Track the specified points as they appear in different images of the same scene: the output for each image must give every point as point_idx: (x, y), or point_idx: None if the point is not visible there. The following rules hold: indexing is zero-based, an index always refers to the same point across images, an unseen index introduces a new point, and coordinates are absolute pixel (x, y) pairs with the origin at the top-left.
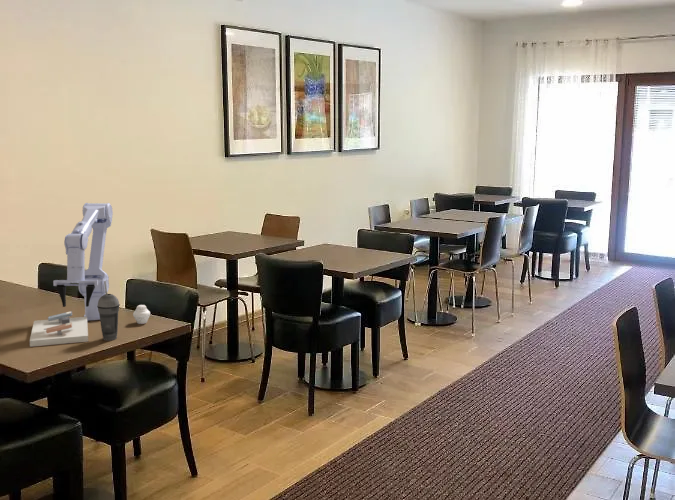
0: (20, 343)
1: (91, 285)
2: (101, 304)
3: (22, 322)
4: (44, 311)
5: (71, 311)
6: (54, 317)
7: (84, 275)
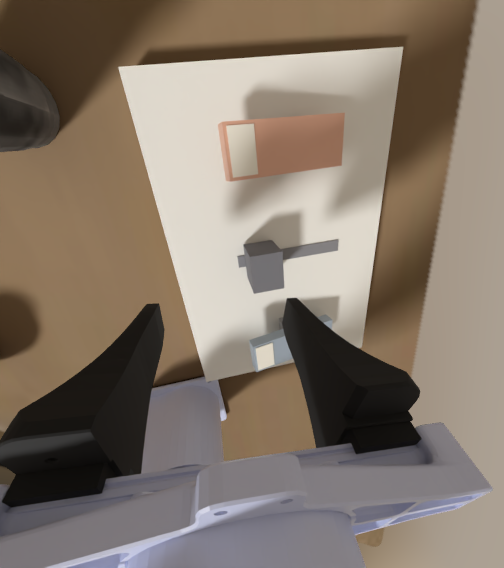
0: (408, 133)
1: (46, 482)
2: None
3: None
4: None
5: (256, 368)
6: None
7: None
